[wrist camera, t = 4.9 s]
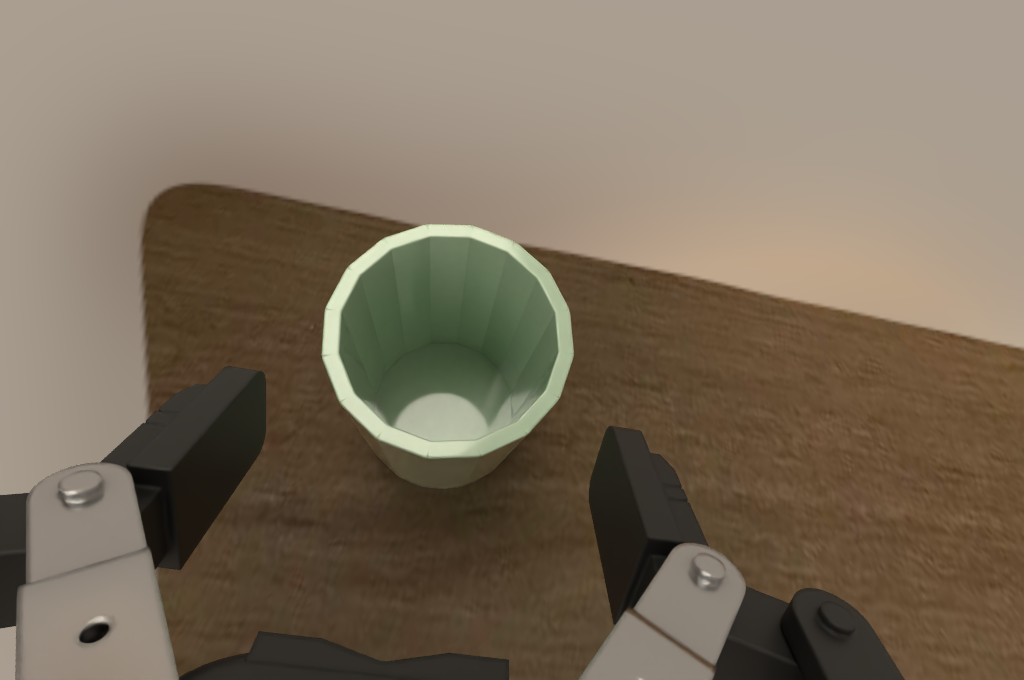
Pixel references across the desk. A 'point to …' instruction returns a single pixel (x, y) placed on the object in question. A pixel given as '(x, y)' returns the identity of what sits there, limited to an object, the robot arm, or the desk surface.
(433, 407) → the cup
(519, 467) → the desk surface
